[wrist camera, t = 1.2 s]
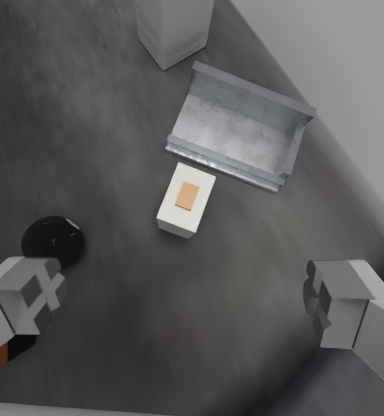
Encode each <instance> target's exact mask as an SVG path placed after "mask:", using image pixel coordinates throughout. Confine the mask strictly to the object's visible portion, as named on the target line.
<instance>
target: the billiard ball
mask: <svg viewBox="0 0 384 416" xmlns="http://www.w3.org/2000/svg"><path fill="white" fill-rule="evenodd" d="M83 247H84V237H83V234H82V232H81V230H80V229H79V227H78V226H77V225H76V224H75V223H73V222H72V221H70V220H68V219H66V218H64V217H60V216H48V217H45V218H42V219H40V220H38V221H36V222H35V223H33V224H32V225H31V226H30V227H29V228H28V229H27V230H26V232H25V234H24V236H23V238H22V242H21V249H22V253H23V255H24V257H52V258H56V259H58V260H59V263H60V265H61V269H60V270H63V269H65V268H67V267H68V266H70V265H71V264H73V263H74V262H75V261H76V260H77V259H78V257H79V256H80V254H81V252H82V250H83Z"/></svg>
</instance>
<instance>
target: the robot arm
mask: <svg viewBox="0 0 384 416" xmlns="http://www.w3.org/2000/svg"><path fill="white" fill-rule="evenodd" d="M60 269H61V265H60V263H59V260H58V259H56V258H52V257H10V258H7V259H6V260H5V261H4V262H3V263H2V264H0V346H2V345H3V344H4V343H6V342H7V341H8V340H10V339H11V338H12V337H14V334H30V335H40V334H41V333H42V331H43V330H44V329H45V327H46V326H47V324H48V323H49V321H50V320H51V319H52V317H53V316H52V311H53V310H55V309H56V308H58V307H59V306H61V304H62V302H63V301H64V299H65V297H66V293H67V282H66V279H65V277H63V276H62V275H61V274H60V273H59V271H60ZM306 272H307V274H308V277H309V278H308V279H307V280H306V281H305V282H304V287H303V300H304V304H305V308H306V311H307V314H309V315H310V316H311V317H312V318H313V319H314V320H313V325H312V327H313V330H314V332H315V335H316V337H317V340H318V343H319V345H320V347H328V348H342V349H353V351H354V352H355V353H356V354H357V355H358V356H359V357H360V358H361V359H362V360H363V361H364V362H365V363H366V364H367V365H368V366H369V367H370V368H371V369H372V370H373V371H374V372H375V373H376V374H377V375H378V376H379V377H380V378H381V379H383V380H384V283H383V281H382V280H381V279H380V278H379V276H378V275H377V274H376V273H375V271H374V270H373V269H372V268H371V267H370V265H369V264H368V263H367V262H366V261H364V260H344V261H343V260H309V262H308V264H307V268H306ZM0 416H173V415H160V414H146V413H133V412H119V411H105V410H92V409H78V408H65V407H51V406H38V405H24V404H11V403H0Z"/></svg>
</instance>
